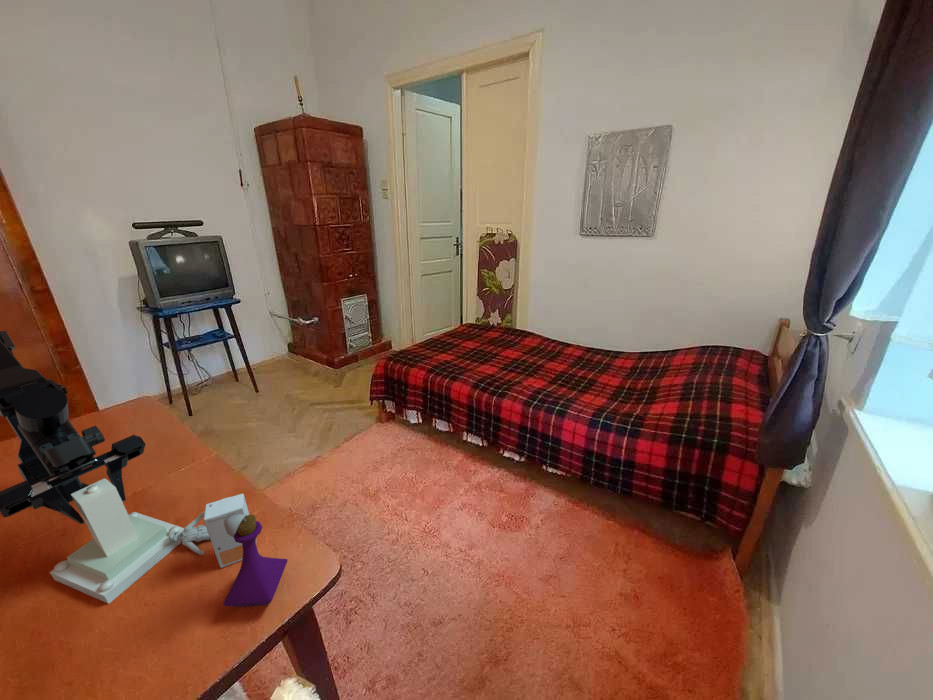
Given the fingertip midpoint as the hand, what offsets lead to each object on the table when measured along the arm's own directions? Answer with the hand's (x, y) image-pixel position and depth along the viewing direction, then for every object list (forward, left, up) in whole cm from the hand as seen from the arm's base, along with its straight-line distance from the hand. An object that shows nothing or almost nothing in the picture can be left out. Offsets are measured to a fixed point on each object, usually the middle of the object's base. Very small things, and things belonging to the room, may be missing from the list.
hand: (104, 511), depth 65 cm
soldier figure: (+11, +8, -12) cm, 18 cm away
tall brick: (-1, 0, -8) cm, 8 cm away
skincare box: (+19, +7, -12) cm, 23 cm away
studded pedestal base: (-1, 0, -12) cm, 12 cm away
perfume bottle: (+29, +2, -12) cm, 31 cm away
